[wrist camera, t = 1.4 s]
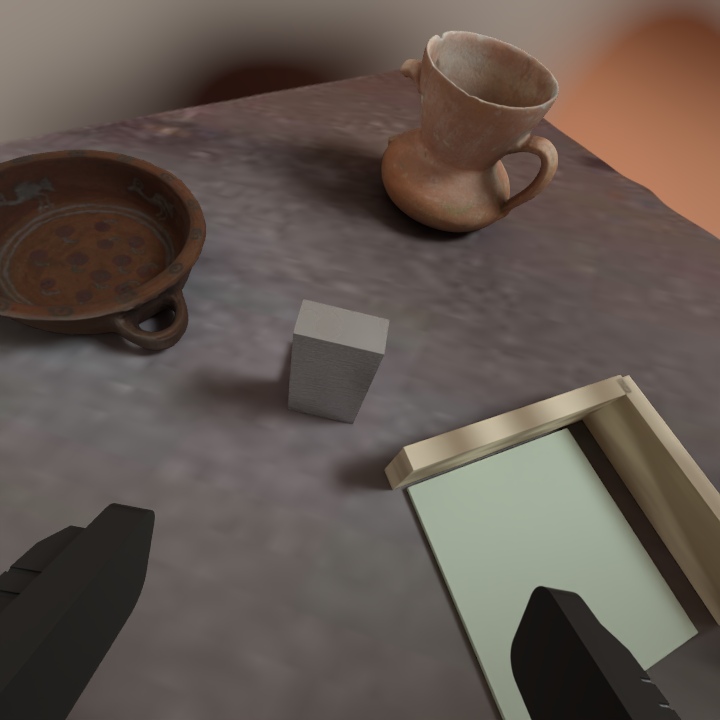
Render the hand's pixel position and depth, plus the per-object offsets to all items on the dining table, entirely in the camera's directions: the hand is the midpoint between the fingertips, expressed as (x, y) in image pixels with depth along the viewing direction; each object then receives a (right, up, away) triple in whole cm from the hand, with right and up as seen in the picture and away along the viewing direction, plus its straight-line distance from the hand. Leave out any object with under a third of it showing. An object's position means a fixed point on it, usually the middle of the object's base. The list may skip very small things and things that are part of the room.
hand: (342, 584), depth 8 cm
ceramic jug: (+10, +22, +38) cm, 45 cm away
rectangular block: (-2, +3, +23) cm, 23 cm away
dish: (-21, +12, +25) cm, 35 cm away
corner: (+15, -8, +20) cm, 26 cm away
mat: (+13, -9, +19) cm, 25 cm away
